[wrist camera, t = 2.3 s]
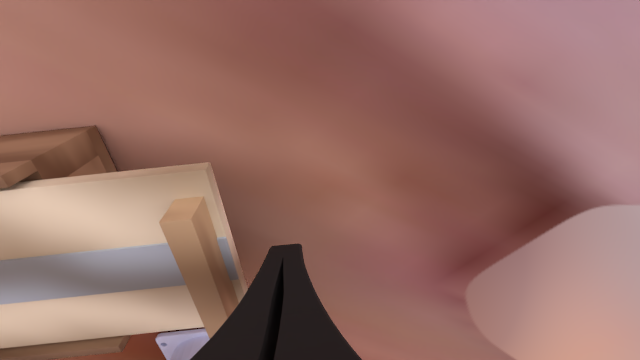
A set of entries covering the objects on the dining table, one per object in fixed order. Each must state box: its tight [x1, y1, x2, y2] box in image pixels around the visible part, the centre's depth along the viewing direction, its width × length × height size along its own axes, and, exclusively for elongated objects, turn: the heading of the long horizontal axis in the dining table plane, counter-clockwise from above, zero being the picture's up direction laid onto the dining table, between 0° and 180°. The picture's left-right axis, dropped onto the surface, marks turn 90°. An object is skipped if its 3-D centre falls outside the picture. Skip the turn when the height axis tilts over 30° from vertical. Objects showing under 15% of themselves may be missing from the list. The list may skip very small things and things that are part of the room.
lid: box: [0, 162, 248, 349], centre depth 14 cm, size 9×16×2 cm, turn 95°
